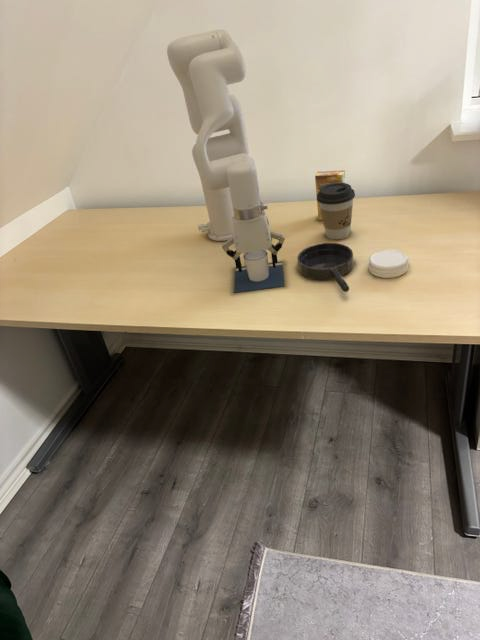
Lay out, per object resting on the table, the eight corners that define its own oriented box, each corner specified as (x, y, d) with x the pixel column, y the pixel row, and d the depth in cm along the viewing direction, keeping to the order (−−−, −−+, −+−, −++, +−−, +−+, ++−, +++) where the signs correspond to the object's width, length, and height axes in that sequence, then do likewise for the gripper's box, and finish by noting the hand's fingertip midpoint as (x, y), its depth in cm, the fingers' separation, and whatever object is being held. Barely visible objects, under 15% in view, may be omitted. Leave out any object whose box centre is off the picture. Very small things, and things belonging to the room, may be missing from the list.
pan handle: (329, 272, 133) (329, 266, 132) (336, 271, 134) (335, 265, 133) (343, 293, 124) (342, 287, 123) (350, 292, 124) (350, 286, 123)
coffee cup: (339, 246, 149) (337, 198, 141) (312, 237, 157) (307, 191, 148) (364, 231, 154) (363, 184, 146) (336, 223, 162) (333, 178, 154)
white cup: (269, 268, 144) (266, 246, 141) (272, 280, 139) (268, 258, 135) (246, 272, 145) (242, 251, 141) (247, 284, 139) (243, 262, 135)
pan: (300, 283, 135) (299, 272, 133) (296, 257, 148) (295, 247, 146) (357, 276, 134) (357, 265, 132) (348, 250, 146) (348, 239, 144)
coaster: (392, 256, 139) (392, 245, 137) (415, 270, 131) (416, 259, 129) (361, 267, 137) (361, 256, 135) (383, 283, 129) (383, 271, 127)
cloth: (234, 293, 137) (233, 292, 137) (235, 268, 149) (235, 267, 148) (284, 286, 135) (284, 285, 135) (282, 262, 147) (282, 261, 147)
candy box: (318, 220, 166) (314, 175, 158) (320, 215, 169) (317, 171, 161) (344, 220, 163) (342, 174, 154) (347, 214, 166) (344, 169, 158)
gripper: (280, 200, 133) (287, 257, 142) (216, 210, 135) (227, 265, 144) (281, 211, 127) (288, 270, 136) (214, 221, 129) (226, 278, 138)
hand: (257, 267), depth 140 cm, fingers open, 9 cm apart
